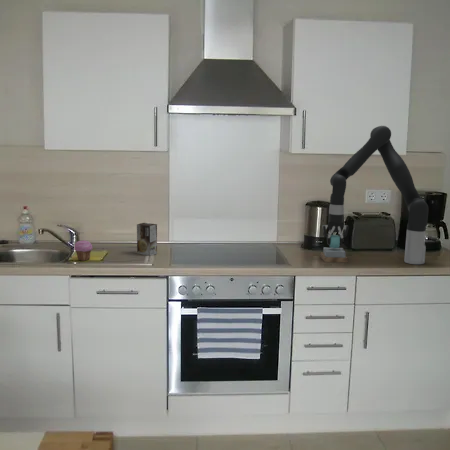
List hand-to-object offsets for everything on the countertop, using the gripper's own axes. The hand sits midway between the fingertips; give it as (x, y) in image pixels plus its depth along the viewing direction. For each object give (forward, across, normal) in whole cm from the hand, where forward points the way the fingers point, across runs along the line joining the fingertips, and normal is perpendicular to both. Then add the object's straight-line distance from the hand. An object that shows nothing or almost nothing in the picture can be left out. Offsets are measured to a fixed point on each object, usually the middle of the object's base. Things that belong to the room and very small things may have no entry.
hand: (334, 244), depth 285 cm
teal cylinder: (+1, 0, 0) cm, 1 cm away
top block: (+6, 0, 0) cm, 6 cm away
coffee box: (+8, +99, -6) cm, 100 cm away
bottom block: (+9, 0, 0) cm, 9 cm away
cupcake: (+8, +129, +10) cm, 130 cm away
